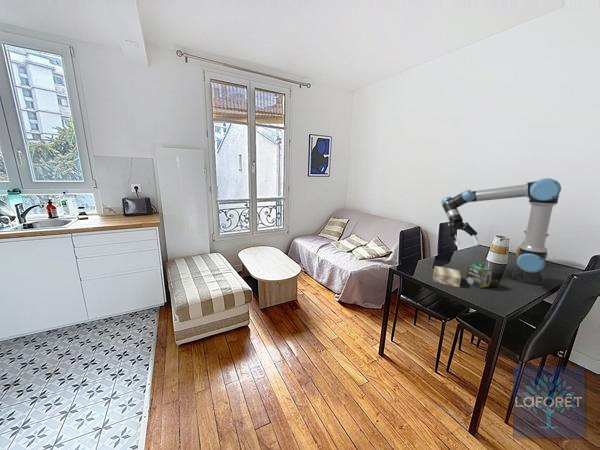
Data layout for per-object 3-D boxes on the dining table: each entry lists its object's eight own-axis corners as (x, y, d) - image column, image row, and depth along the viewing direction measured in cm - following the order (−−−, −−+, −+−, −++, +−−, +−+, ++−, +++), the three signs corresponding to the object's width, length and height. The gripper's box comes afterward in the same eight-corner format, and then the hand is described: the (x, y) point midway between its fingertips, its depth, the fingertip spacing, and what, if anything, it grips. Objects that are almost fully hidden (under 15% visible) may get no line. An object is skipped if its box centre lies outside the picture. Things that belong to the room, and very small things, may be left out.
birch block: (457, 278, 157) (459, 270, 156) (459, 287, 145) (460, 278, 144) (433, 274, 164) (434, 265, 162) (432, 282, 152) (434, 273, 150)
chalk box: (489, 286, 147) (494, 263, 143) (479, 288, 144) (484, 265, 140) (474, 280, 155) (478, 258, 152) (464, 282, 152) (468, 259, 149)
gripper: (466, 220, 171) (480, 247, 160) (434, 220, 168) (446, 247, 157) (474, 214, 165) (489, 241, 154) (441, 214, 161) (454, 242, 150)
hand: (467, 244), depth 155 cm, fingers open, 13 cm apart
